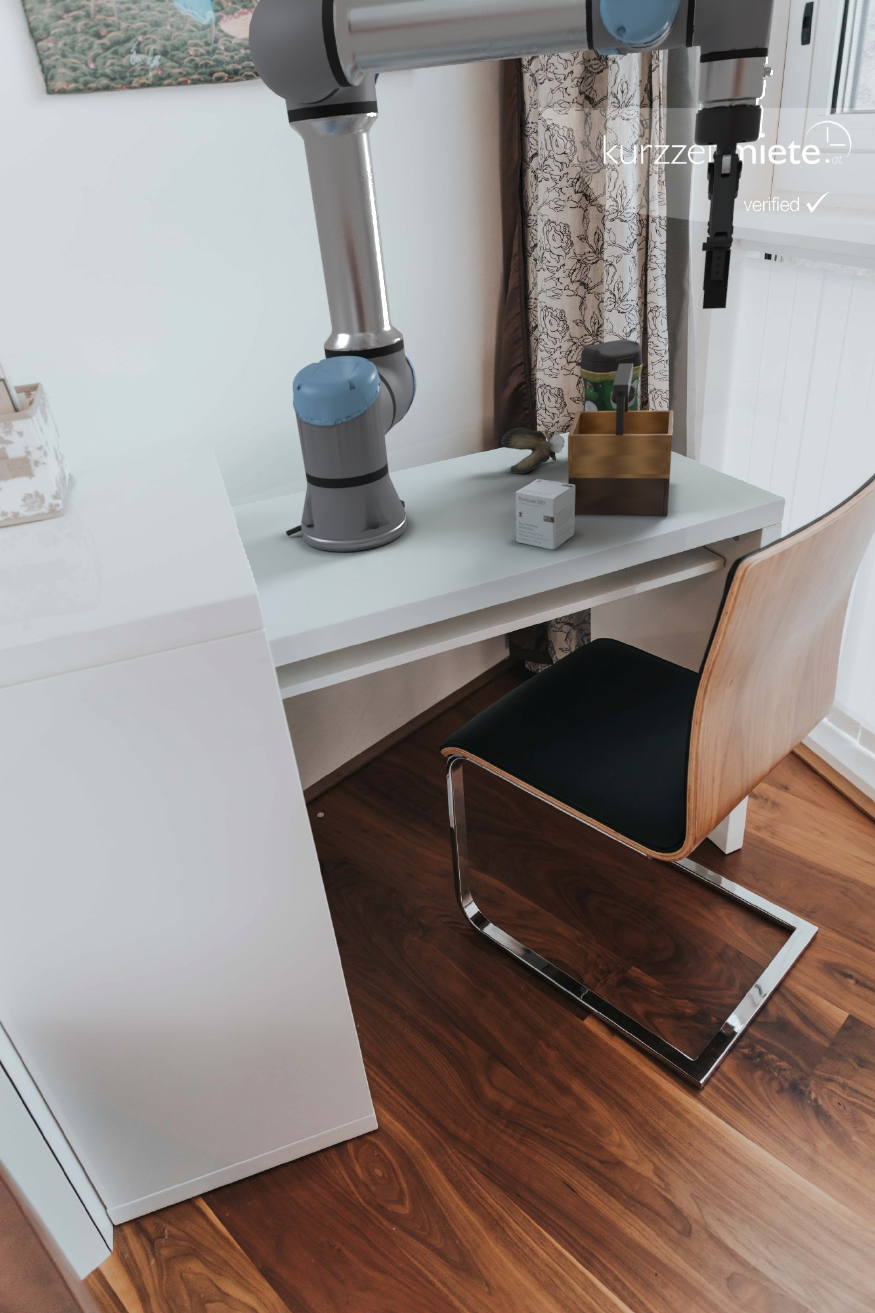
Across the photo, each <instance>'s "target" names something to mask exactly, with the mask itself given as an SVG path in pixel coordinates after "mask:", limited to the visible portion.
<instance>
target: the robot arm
mask: <svg viewBox="0 0 875 1313" xmlns="http://www.w3.org/2000/svg"><path fill="white" fill-rule="evenodd" d="M774 7H775V0H259V1H258V2H257V4H256V6H255V8H254V9H253V12H252V15H251V18H250V22H249V25H248V39H247V40H248V48H249V53H250V58H251V62H252V64H253V66H254V69H255V71H256V73H257V75H258V76H259V77H260V79H261V80H262V82H263V83H264V84H265V85H266V87H267V88H268V89H269V90H270V91H272V92H273V93H274V94H275V95H277V96H278V97H280V98H282V99H284V100H285V106H286V113H287V119H288V125H289V127H290V128H291V129H292V130H293V131H294V132H295V133H296V134H298V135H299V136H300V138H301V139H302V140H303V145H304V152H305V153H304V154H305V159H306V165H307V172H308V179H309V186H310V193H311V199H312V206H313V213H314V219H315V225H316V226H315V227H316V233H317V239H318V240H317V241H318V246H319V252H320V259H321V267H322V273H323V280H324V286H325V292H326V299H327V306H328V314H329V319H330V325H331V331H330V334H329V335H328V336H327V338H326V339H325V341H324V343H323V350H324V357H325V358H324V359H320V360H319V362H312V363H310V364H308V365H306V366H304V367H303V368H301V369H300V370H299V371H298V372H297V373H296V375H295V376H294V378H293V381H292V395H293V396H292V406H293V410H294V413H295V419H296V425H297V431H298V437H299V442H300V449H301V454H302V461H303V467H304V472H305V479H306V490H305V497H304V503H303V509H302V515H301V521H300V523H301V524H300V525H298V526H295V527H293V528H290V529H288V530H286V531H285V533H286V536H287V537H289V536H291V535H295V534H296V533H299V532H301V535H302V540H303V541H304V543H306V544H307V545H308V546H310V547H311V548H315V549H318V550H322V551H329V552H355V551H363V550H368V549H369V550H370V549H373V548H377V547H380V546H383V545H386V544H389V543H391V542H392V541H395V540H396V539H398V538H400V537H401V536H402V535H403V534H404V533H405V532H406V530H407V529H408V521H407V513H406V511H405V510H406V509H405V508H406V505H405V501H404V500H402V499H401V498H400V496H399V494H398V492H397V489H396V488H395V486H394V483H393V481H392V479H391V476H390V471H389V463H388V462H389V461H388V453H387V452H388V451H387V444H386V443H387V442H386V436H387V434H388V433H389V432H390V431H391V430H392V429H393V428H394V427H395V426H396V425H397V424H399V423H400V422H401V421H402V420H403V419H404V417H405V416H407V414H408V413H409V411H410V409H411V406H412V404H413V402H414V399H415V397H416V393H417V376H416V371H415V368H414V366H413V363H412V362H411V360H410V358H409V357H408V356H407V355H406V350H405V341H404V336H403V335H404V334H403V333H402V332H401V331H399V330H398V329H397V328H396V327H395V326H394V325H393V324H392V320H391V312H390V303H389V294H388V286H387V276H386V269H385V261H384V260H385V259H384V251H383V242H382V234H381V226H380V225H381V224H380V218H379V208H378V201H377V192H376V183H375V175H374V174H375V173H374V165H373V158H372V150H371V142H370V131H371V129H372V127H373V125H374V124H375V122H376V121H377V119H378V118H379V108H378V98H377V90H376V85H377V82H378V80H379V76H380V74H382V73H383V74H384V73H392V72H401V71H410V70H411V71H412V70H419V69H429V68H439V67H446V66H456V65H466V64H473V63H483V62H493V61H502V60H511V59H520V58H529V57H538V56H548V55H556V54H567V53H574V52H585V51H592V50H593V51H596V52H597V53H598V54H600V55H602V56H623V57H625V56H629V55H630V54H631V55H632V54H638V53H639V54H641V53H650V52H659V51H665V50H673V49H675V50H676V49H682V48H687V49H688V48H693V47H699V48H700V49H699V50H700V52H699V53H700V55H699V63H698V70H697V71H698V72H697V87H696V99H695V100H696V101H695V102H696V103H697V104H698V105H700V104H701V107H700V109H698V110H697V113H695V123H694V139H693V140H694V144H695V145H696V146H699V147H701V146H703V147H704V146H716V147H715V150H714V152H713V154H712V159H713V161H709V162H707V170H706V171H707V172H706V179H707V181H708V183H707V184H708V185H707V199H708V200H709V201H710V203H709V215H708V221H707V230H706V232H707V236H706V242H702V244H701V252H705V256H704V257H705V258H704V269H703V270H704V271H703V282H702V283H703V284H702V291H703V299H702V310H710V309H711V310H712V309H713V310H714V309H726V308H727V297H728V288H729V286H728V285H729V277H730V264H731V255H732V249H731V247H732V245H733V242H734V237H733V235H734V228H735V227H734V226H735V225H734V213H735V200H736V199H737V198H738V195H739V189H740V179H741V178H742V172H743V160H742V159H740V155H739V152H737V149H738V144H744V143H745V144H747V143H754V142H758V141H759V140H760V138H761V134H762V125H763V124H762V123H763V115H764V114H763V113H764V107H762V106H763V105H762V104H758V103H759V102H758V101H759V99H763V97H764V96H765V88H766V80H765V79H764V78H770V77H771V76H772V75H773V68H772V67H771V66H766V64H768V57H769V51H770V42H771V34H772V23H773V16H774Z"/></svg>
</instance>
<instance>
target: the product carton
mask: <svg viewBox="0 0 875 1313" xmlns="http://www.w3.org/2000/svg"><path fill="white" fill-rule="evenodd" d="M575 515H576V514H575V485H572V484H568V483H566V482H561V481H556V480H547V479H541V478H536V479H534V480H532V481H531V482H529V483H528V484H526V485H525V486H523V487H522V488H519V489H518V490H516V491H515V541H516V543H519V544H524V545H529V546H534V547H539V548H543V549H547V550H556V549H557V548H558V547H560V546H561V545H562V544H564V543H565V542H566V541H567V540H569V539H570V538H572V537H573V536H574V535H575V519H576V516H575Z"/></svg>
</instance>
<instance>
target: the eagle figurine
mask: <svg viewBox="0 0 875 1313" xmlns="http://www.w3.org/2000/svg"><path fill="white" fill-rule="evenodd" d="M565 441H566V440H565V438H564V437H563V436H562V435H561V434H557V433H555V434H553V433H551V432H548V429H545V430H544V433H543V432H542V431H541V430H533V429H528V428H525V427H524V426H523V427H520V426H519V427H516V428H513V429H510V430H508V431H507V432H506V433H505V434H504V435H503V436H502V439H501V441H500V442H501V445H503V446H504V448H506V449H511V450H512V449H513V450H518V451H524V450H525V451H526V450H529V451H531V453H530V454H529V455H527V456H526V457H524V458H522V459H521V460H520V461H519V462H517V463H515V464H514V465H512V466H510V468H509V472H510V473H511V474H519V475H521V474H527V473H528V472H531V471H533V470H534V469H535V468H537V467H538V466H539V465H542V464H544V463H547V462H548V461H549V460H550V459H552V461H553V462H557V457H556V454H560V453H561V451H562V450H563V449H564V447H565Z"/></svg>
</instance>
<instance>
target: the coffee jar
mask: <svg viewBox="0 0 875 1313" xmlns="http://www.w3.org/2000/svg"><path fill="white" fill-rule="evenodd" d="M582 348H583V349H582V350H581V355H580V357H581V358H580V367H579V371H580V375H581V378H582V381H583V387H584V389H583V390H584V392H583V394H584V395H583V411H616V406H617V397H613V384H614V381H615V377H616V374H617V370H618V366H619V364H629V363H633V376H632V381H631V385H630V390H629V399H628V411H639V381H640V376H641V373H642V369H643V355H642V353H643V352H642V347H641V344H640V343H639V342H638V341H635V340H631V339H626V338H622V339H617V340H610V341H606V342H601V343H596V344H592V345H586V346H584V347H582Z"/></svg>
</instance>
